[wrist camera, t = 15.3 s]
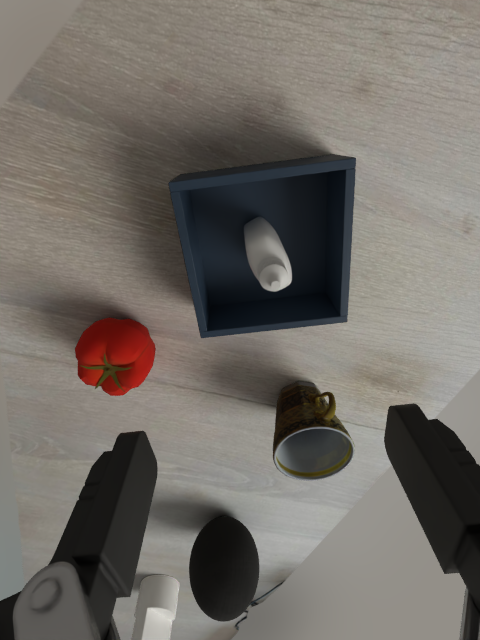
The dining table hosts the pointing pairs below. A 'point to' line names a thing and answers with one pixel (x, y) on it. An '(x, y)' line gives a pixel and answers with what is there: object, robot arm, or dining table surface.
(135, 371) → the tomato
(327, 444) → the ceramic cup
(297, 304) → the bin
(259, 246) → the eye dropper bottle
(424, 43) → the dining table surface
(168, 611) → the base with upright slab
